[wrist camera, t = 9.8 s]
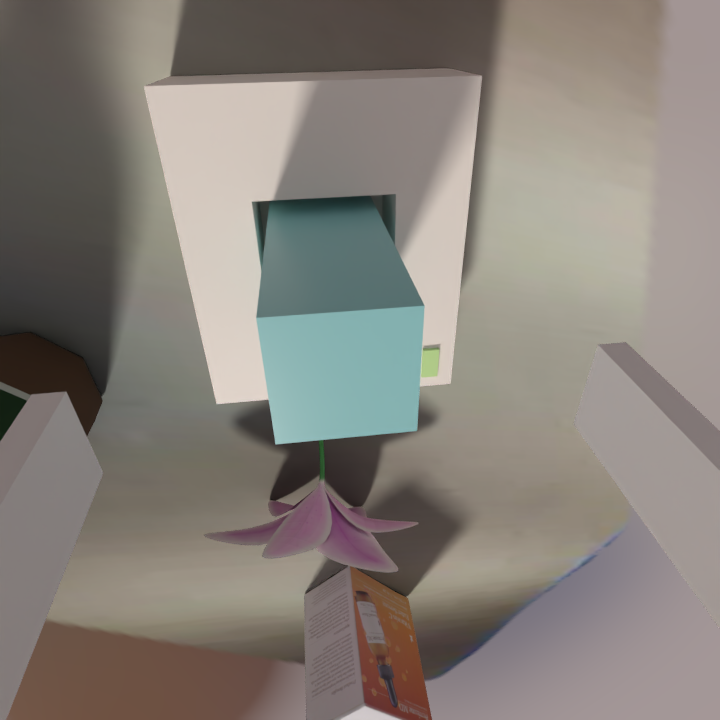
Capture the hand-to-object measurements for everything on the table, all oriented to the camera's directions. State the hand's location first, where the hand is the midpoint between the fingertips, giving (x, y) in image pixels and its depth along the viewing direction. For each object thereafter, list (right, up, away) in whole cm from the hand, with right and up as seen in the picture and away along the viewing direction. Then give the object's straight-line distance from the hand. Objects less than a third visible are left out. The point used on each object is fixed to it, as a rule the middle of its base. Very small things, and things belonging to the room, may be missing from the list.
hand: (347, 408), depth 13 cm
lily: (-3, -6, +22) cm, 23 cm away
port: (-2, +8, +12) cm, 15 cm away
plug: (-2, +7, +12) cm, 14 cm away
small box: (0, -19, +31) cm, 37 cm away
